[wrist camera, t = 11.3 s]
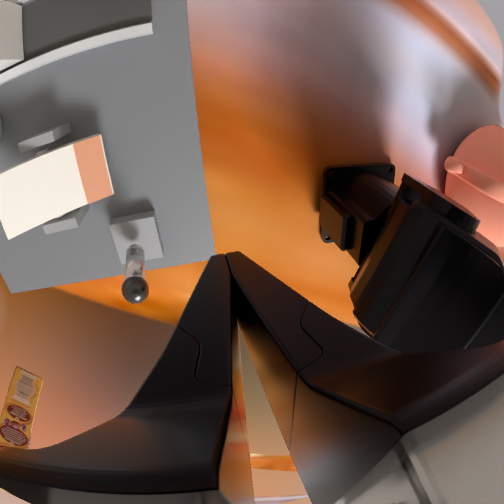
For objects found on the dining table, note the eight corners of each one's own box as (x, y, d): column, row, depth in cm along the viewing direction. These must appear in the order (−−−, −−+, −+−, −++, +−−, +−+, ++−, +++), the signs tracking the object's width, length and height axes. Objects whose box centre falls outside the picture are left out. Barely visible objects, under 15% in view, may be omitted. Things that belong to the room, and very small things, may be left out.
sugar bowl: (475, 232, 30) (531, 280, 22) (403, 211, 26) (477, 274, 18) (509, 143, 24) (575, 178, 16) (444, 91, 20) (538, 120, 12)
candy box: (13, 363, 26) (-13, 475, 14) (44, 377, 28) (26, 491, 16) (11, 393, 29) (-7, 487, 16) (37, 405, 31) (24, 499, 18)
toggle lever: (144, 235, 18) (144, 292, 16) (150, 252, 19) (152, 306, 17) (119, 240, 18) (117, 296, 15) (127, 256, 19) (126, 310, 17)
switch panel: (182, -58, 11) (183, -89, 7) (213, 244, 24) (221, 282, 20) (-42, 28, 9) (-78, 28, 5) (19, 279, 21) (-1, 315, 17)
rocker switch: (96, 130, 15) (100, 130, 14) (110, 191, 17) (115, 196, 16) (-11, 173, 12) (-15, 177, 11) (10, 235, 14) (9, 243, 13)
